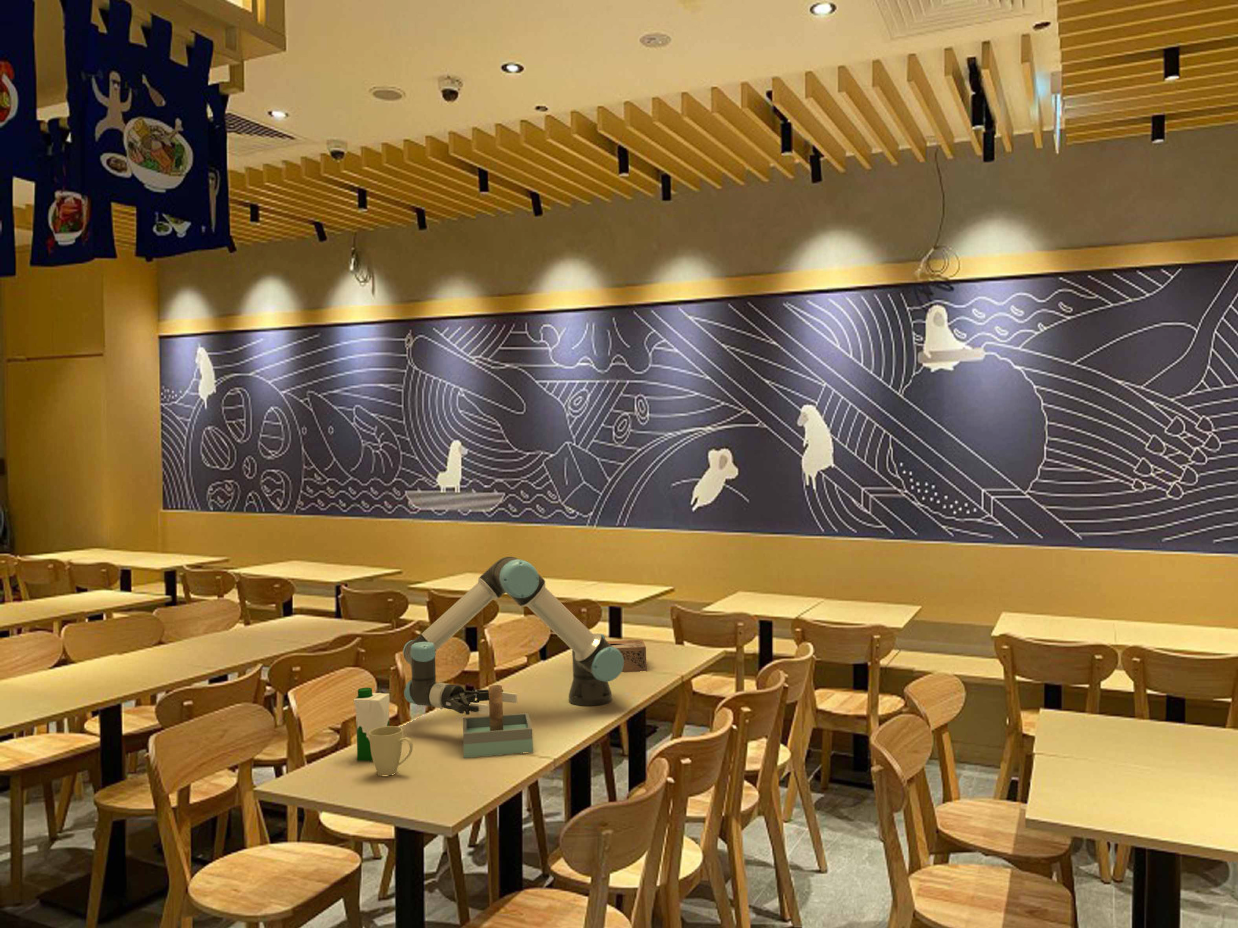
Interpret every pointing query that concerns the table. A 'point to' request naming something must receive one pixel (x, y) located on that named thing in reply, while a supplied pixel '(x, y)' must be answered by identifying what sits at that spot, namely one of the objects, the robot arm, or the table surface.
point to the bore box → (497, 736)
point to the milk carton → (369, 718)
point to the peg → (495, 707)
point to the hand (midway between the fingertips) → (502, 703)
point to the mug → (387, 748)
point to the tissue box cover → (631, 654)
